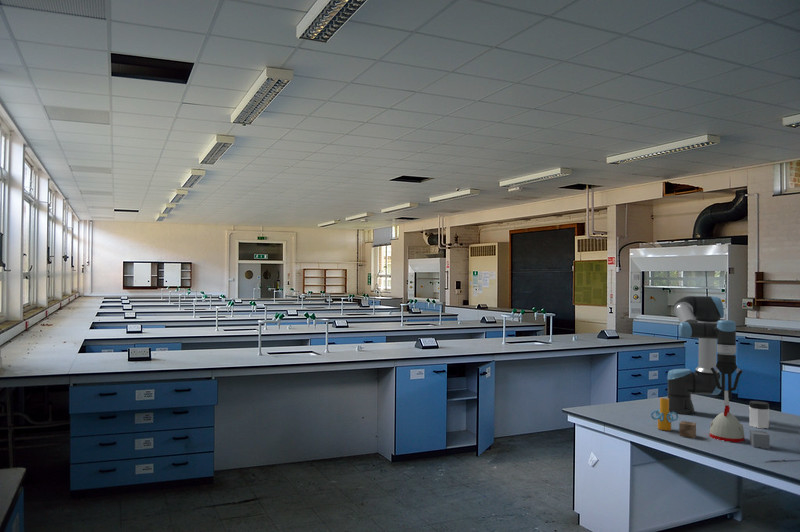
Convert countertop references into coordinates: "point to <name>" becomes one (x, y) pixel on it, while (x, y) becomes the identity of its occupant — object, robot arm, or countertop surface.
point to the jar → (759, 414)
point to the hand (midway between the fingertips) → (726, 404)
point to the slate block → (759, 439)
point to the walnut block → (687, 429)
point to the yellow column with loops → (664, 415)
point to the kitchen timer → (727, 427)
